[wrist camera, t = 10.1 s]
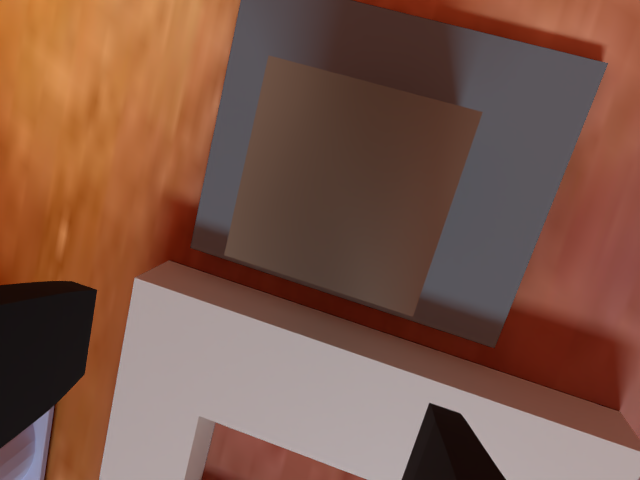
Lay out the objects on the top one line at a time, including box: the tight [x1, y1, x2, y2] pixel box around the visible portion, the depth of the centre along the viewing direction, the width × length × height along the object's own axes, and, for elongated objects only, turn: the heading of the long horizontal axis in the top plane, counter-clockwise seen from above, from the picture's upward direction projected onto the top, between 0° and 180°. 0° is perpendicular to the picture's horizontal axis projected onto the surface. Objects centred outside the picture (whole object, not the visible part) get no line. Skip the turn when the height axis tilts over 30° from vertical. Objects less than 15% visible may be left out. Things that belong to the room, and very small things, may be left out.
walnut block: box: [224, 56, 483, 317], centre depth 14 cm, size 4×4×7 cm
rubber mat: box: [190, 0, 608, 348], centre depth 17 cm, size 12×10×1 cm
